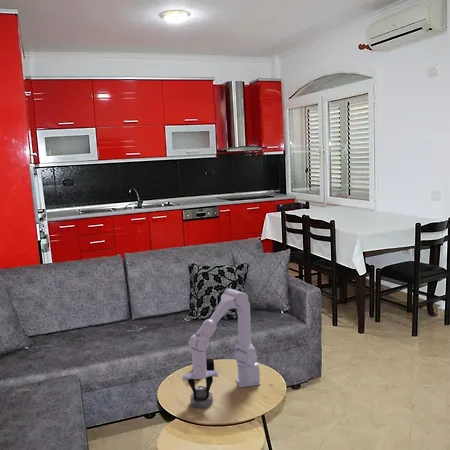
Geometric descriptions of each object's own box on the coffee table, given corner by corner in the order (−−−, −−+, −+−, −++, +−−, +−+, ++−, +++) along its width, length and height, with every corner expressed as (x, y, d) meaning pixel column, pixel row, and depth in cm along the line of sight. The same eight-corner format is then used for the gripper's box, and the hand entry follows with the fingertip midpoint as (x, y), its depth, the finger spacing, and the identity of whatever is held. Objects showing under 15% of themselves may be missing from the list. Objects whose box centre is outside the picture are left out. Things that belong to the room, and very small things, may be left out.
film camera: (213, 379, 213) (212, 361, 212) (192, 380, 214) (191, 362, 212) (214, 365, 228) (213, 348, 227) (195, 366, 229) (194, 348, 227)
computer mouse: (206, 394, 196) (206, 384, 195) (207, 400, 191) (207, 390, 190) (194, 395, 195) (194, 385, 195) (195, 401, 190) (195, 391, 190)
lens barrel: (210, 396, 199) (210, 389, 198) (214, 406, 190) (213, 399, 189) (189, 399, 197) (189, 392, 197) (192, 409, 188) (191, 403, 188)
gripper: (215, 357, 196) (216, 387, 198) (180, 361, 194) (182, 392, 195) (218, 364, 189) (219, 395, 191) (182, 369, 187) (184, 400, 189)
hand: (201, 394), depth 193 cm, fingers closed on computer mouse, 5 cm apart
